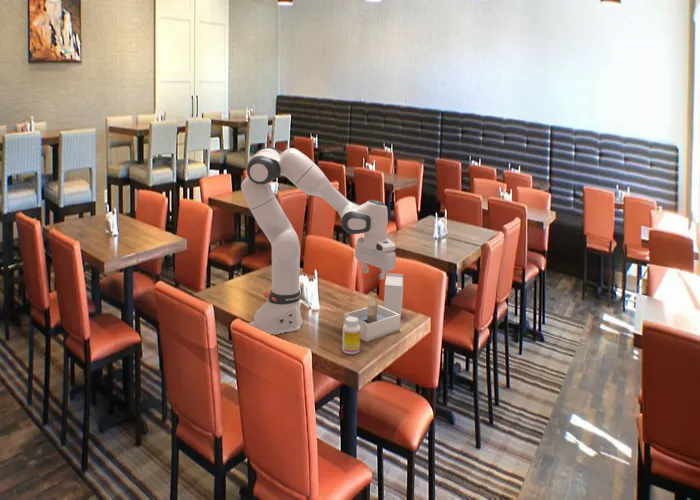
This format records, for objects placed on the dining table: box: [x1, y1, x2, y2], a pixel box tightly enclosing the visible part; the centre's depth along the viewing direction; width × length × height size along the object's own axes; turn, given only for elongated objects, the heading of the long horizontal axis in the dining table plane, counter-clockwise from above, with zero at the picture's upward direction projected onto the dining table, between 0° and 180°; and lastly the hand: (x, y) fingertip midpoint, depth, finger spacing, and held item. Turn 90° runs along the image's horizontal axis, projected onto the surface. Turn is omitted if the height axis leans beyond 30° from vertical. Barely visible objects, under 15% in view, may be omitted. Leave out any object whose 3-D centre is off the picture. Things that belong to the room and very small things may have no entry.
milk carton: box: [383, 272, 404, 316], centre depth 250 cm, size 7×7×19 cm
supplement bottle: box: [341, 317, 361, 355], centre depth 216 cm, size 7×7×13 cm
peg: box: [367, 298, 379, 323], centre depth 235 cm, size 4×4×12 cm
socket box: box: [343, 304, 402, 342], centre depth 236 cm, size 18×14×7 cm
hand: (373, 275), depth 231 cm, fingers open, 8 cm apart
